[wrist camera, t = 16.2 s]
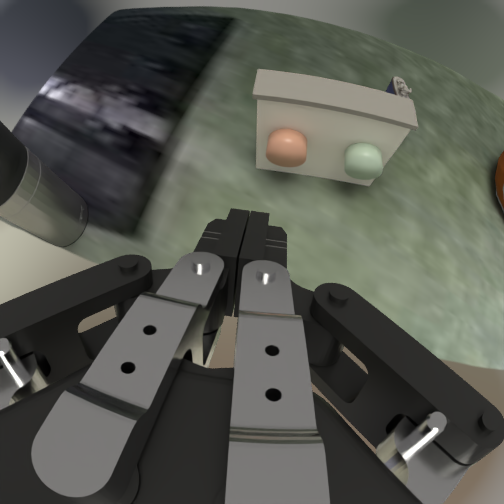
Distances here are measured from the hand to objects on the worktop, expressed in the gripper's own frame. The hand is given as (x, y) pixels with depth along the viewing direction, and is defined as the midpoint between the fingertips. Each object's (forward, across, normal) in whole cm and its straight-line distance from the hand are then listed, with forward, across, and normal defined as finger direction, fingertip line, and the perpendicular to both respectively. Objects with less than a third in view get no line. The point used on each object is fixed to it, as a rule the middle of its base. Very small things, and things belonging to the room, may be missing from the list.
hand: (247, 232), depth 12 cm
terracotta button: (+31, -2, +2) cm, 32 cm away
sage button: (+31, -12, +2) cm, 34 cm away
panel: (+37, -7, +6) cm, 38 cm away
